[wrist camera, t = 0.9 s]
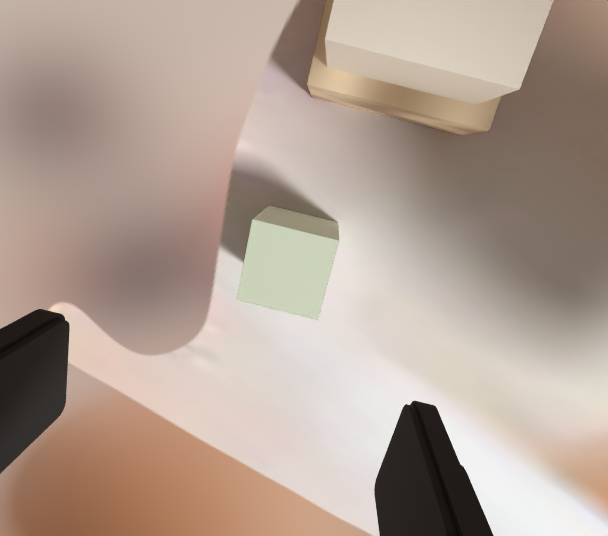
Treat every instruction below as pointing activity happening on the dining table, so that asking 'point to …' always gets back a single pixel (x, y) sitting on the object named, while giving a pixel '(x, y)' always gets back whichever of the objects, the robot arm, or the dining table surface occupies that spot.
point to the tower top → (438, 43)
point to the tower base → (393, 95)
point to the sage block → (288, 261)
